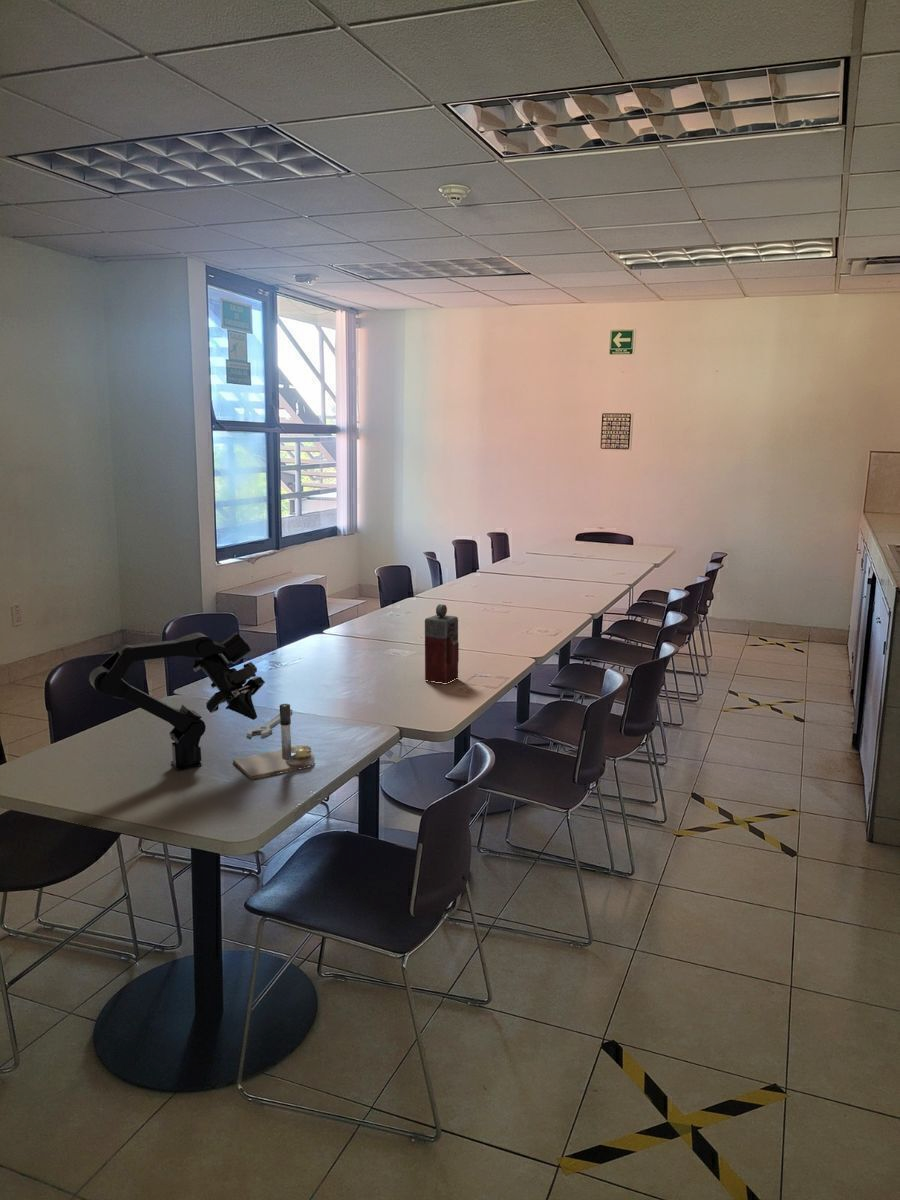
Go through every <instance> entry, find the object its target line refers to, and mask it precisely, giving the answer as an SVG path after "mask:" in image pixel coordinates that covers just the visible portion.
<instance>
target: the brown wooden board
mask: <svg viewBox="0 0 900 1200" xmlns="http://www.w3.org/2000/svg"><path fill="white" fill-rule="evenodd" d="M232 761H233V762H232V763H233V764H234V766H236V767H237V769H239V770H240V771H241V772H242V771H243V772H244V773H245V774H244V773H243V772H242V773H243V774H244V775H245V776H246V777H248V779H249V780H251V779H253V780H256V779H255V778H258V779H261V778H260V777H262V778H265V777H264V776H267V777H269V776H268V775H272V776H274V775H273V774H276V775H278V774H277V773H280V772H285V773H287V772H286V771H290V770H294V771H296V770H295V769H299V768H304V767H308V766H311V765H312V764H314V765H315V763H316V762H315V754H314V752H313V753H312V752H311V756H310V757H309V758H306V759H290V760H283V758H282V749H279V750H273V751H269V752H263V753H259V754H254V755H248V756H244V757H239V758H235V759H232ZM314 762H315V763H314ZM311 767H312V766H311ZM308 768H309V767H308ZM304 769H305V768H304ZM299 770H300V769H299ZM290 772H291V771H290Z"/></svg>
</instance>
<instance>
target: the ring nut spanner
mask: <svg viewBox="0 0 900 1200" xmlns="http://www.w3.org/2000/svg"><path fill="white" fill-rule="evenodd" d="M290 709H291V704H290V703H280V704H279V714H280V722H279V724H280V734H281V735H280V736H281V737H280V740H281V741H280V742H281V750H282V758H283V760H290V759H306V758H309V757H310V756H311V753H312V746H311V747H310V746H309V745H306V744H304V745H294V746H292V740H291V739H292V738H291V737H292V735H291V734H292V733H291V732H292V731H291V723H292V722H291V721H292V720H291V716H292V714H291V715H290Z"/></svg>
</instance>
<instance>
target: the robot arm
mask: <svg viewBox="0 0 900 1200" xmlns="http://www.w3.org/2000/svg"><path fill="white" fill-rule="evenodd" d="M251 652H252V649H251V648H250V645H249V644H248V643H247V642H246V641H245V640H244V639H243V637H241V635H240V634H239V633H238V632H237V631H236V632H234V633H232V634H231V635H230V636H229V637H228V638H226V639H225V640H223V641H221V642H218V641H216V640H215V641H214V640H213V639H211V637H209V636H207V635H206V634H203V633H202V632H193V633H189V634H186V635H184V636H181V637H179V638H177V639H171V640H165V641H155V642H146V643H137V644H136V643H135V644H122V645H121V646H120V647H118V649H117V650H116V651H115V652H114V653H112V655H110V656H109V657H108V658H106V660H105V661H103V663H102V664H101V665H100V666H97V667H95V668H94V669H93V670H91V672H90V673H89V678H88V679H89V683H90V685H91V686H92V687H93V688H94V689H95V690H96V691H97V693H99V694H102V695H105V696H108V697H112V698H116V699H120V700H124V701H127V702H128V703H131V704H132V705H134V706H137V707H138V708H140V709H142V710H144V711H146V712H148V713H149V714H151V715H154V716H155V717H157V718H160V719H161V720H163V721H165V722H166V723H169V724H170V725H171V726H173V728H172V729H171V730H170V732H169V737H170V739H171V741H173V742H172V743H171V754H172V756H171V757H172V761H170V763H171V765H172V766H173V767H174V769H176V770H177V771H182V770H186V769H191V768H196V767H201V766H202V763H201V761H202V748H201V746H200V741H201V737H203V735H204V733H205V732H206V728H207V726H206V723H205V721H204V720H203V719H202V718H203V717H202V715H201V714H199V713H198V712H197V711H195V710H193V709H190V708H187V707H186V706H185V705H183V704H181V706H180V708H176V707H174V706H173V707H172V706H170V705H169V704H167V703H166V702H164V701H161V700H159V699H158V698H156V697H154V696H152V695H149V694H148V693H146V692H145V691H142V690H141V689H138V688H136V687H135V686H132V685H131V684H129V683H128V682H126V681H125V680H124V679H123V678H124V676H125V675H126V673H127V672H128V669H129V668H130V666H131V665H132V664H133V663H134V662H139V661H148V660H155V659H156V660H157V659H162V658H171V657H173V658H174V657H185V658H192V659H193V658H195V659H193V667H192V668H193V672H195V673H196V672H197V671H200V670H201V669H202V671H203V672H204V673H205V675H206V676H207V677H208V678H209V680H210V681H211V682H212V683H211V684H210V686H211V688H213V689H214V688H217V692H215V693H214V694H213V695H212V696H211V697H210V698H209V700H208V701H207V702H206V706H205V707H206V710H208V712H209V713H210V714H212V713H214V712H217V711H218V710H219V705H221V704H224V703H226V704H227V706H226V707H225V710H230V711H233V712H235V713H237V714H240V715H242V716H244V717H246V718H248V719H251V720H253V721H254V720H256V719H257V718H258V715H257V712H256V709H255V706H254V703H253V697H252V696H254V695H255V694H256V693H257V692H258V691H259V690H260V689H261V688H262V687H263V686H264V685H265V683H266V682H265V680H264V679H263V678H262V677H261V676H257V674H256V673H257V671H258V667H257V666H256V665H255V664H254V663H253V662H252V661H250V662H247V663H244V664H243V668H241V669H238V670H237V669H236V668H235V667H232V668H230V667H229V666H228V664H230V663H231V664H233V665H234V664H237V663H238V662H239V661H240V660H242V659H243V658H244V657H246V656H247V655H249V654H250V653H251ZM197 658H198V659H197Z"/></svg>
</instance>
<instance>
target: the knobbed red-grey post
mask: <svg viewBox="0 0 900 1200" xmlns="http://www.w3.org/2000/svg"><path fill="white" fill-rule="evenodd" d="M447 611H448V607H447V605H445V604H440V603H439V604H437V606H436V608H435V615H432V616H429V617H426V618H425V619H424V681H425V680H428V681H435V682H442V683H448V682H450V681H452V680H454V679H456V678H458V679H459V658H460V657H459V655H460V654H459V653H460V651H459V650H460V649H459V644H460V643H459V617H457V616H454V615H447V613H448V612H447Z"/></svg>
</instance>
